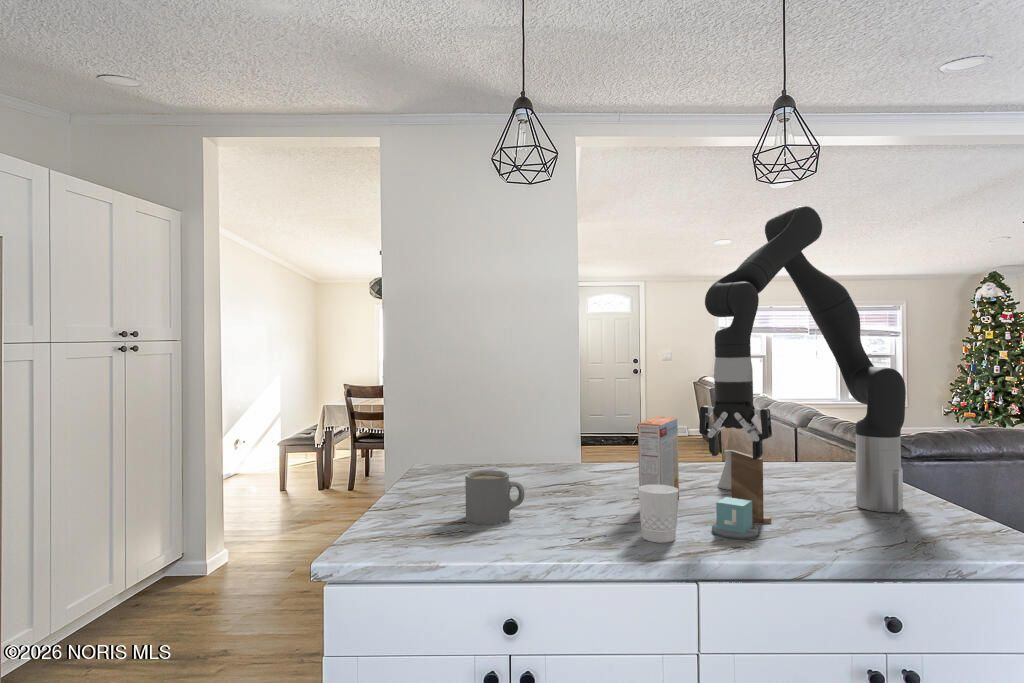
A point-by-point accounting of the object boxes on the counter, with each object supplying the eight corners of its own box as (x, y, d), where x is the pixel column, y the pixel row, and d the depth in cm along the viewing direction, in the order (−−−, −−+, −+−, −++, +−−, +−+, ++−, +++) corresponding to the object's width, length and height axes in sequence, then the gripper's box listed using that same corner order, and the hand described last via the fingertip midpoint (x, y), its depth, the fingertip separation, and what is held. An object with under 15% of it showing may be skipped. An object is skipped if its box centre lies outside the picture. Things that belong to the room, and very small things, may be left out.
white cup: (650, 529, 135) (649, 482, 135) (685, 536, 130) (684, 487, 130) (632, 539, 129) (631, 489, 129) (668, 546, 124) (667, 495, 124)
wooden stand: (743, 509, 150) (743, 450, 150) (771, 522, 139) (770, 458, 139) (724, 511, 149) (723, 451, 149) (750, 524, 138) (749, 459, 138)
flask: (749, 490, 168) (748, 453, 168) (721, 491, 169) (721, 453, 169) (740, 484, 176) (739, 448, 176) (713, 484, 176) (713, 448, 176)
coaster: (763, 531, 133) (763, 526, 133) (749, 542, 126) (749, 537, 126) (721, 523, 138) (721, 519, 138) (705, 534, 131) (705, 529, 131)
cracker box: (656, 498, 161) (655, 416, 161) (680, 501, 158) (679, 417, 158) (637, 511, 149) (636, 422, 149) (662, 514, 146) (661, 423, 146)
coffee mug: (463, 524, 140) (462, 479, 140) (468, 512, 150) (467, 470, 150) (523, 524, 139) (523, 479, 139) (525, 512, 149) (524, 469, 149)
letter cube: (752, 527, 132) (752, 500, 132) (743, 533, 128) (743, 506, 128) (726, 522, 136) (725, 496, 136) (716, 528, 131) (716, 502, 131)
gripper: (774, 378, 130) (776, 457, 130) (706, 377, 139) (708, 451, 139) (763, 380, 124) (765, 463, 124) (693, 379, 133) (695, 457, 133)
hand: (735, 457), depth 132 cm, fingers open, 8 cm apart
